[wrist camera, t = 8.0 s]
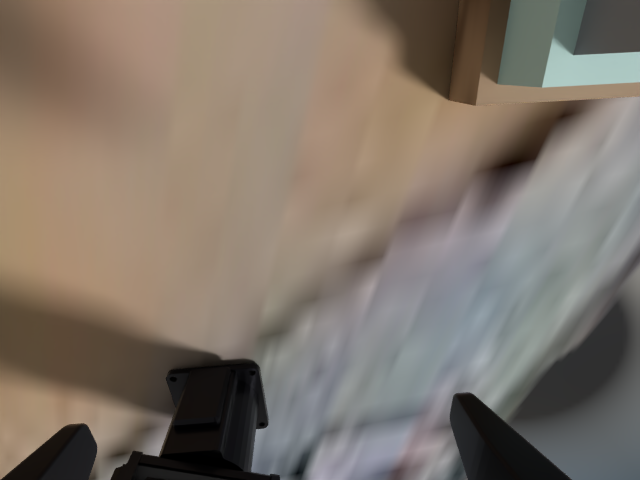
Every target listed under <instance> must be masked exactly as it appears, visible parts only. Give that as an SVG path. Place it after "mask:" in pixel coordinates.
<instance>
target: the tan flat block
mask: <svg viewBox="0 0 640 480" xmlns="http://www.w3.org/2000/svg"><path fill="white" fill-rule="evenodd" d="M510 3H511V0H460V2H459V11H458V20H457V29H456V38H455V47H454V56H453V65H452V75H451V84H450V93H449V100H450V101H455V102H460V103H465V104H470V105H475V106H479V105H496V104H514V103H531V102H549V101H566V100H584V99H602V98H619V97H637V96H640V82H634V83H616V84H598V85H580V86H561V87H543V88H541V87H527V86H513V85H500V84H497V82H498V76H499V70H500V64H501V58H502V52H503V46H504V40H505V34H506V27H507V21H508V15H509V9H510Z"/></svg>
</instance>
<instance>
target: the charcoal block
mask: <svg viewBox="0 0 640 480" xmlns="http://www.w3.org/2000/svg"><path fill="white" fill-rule="evenodd" d="M628 52H640V0H587V2H586V6H585V10H584V14H583V18H582V22H581V26H580V30H579V34H578V38H577V42H576V46H575V50H574V54H573V55H589V54H609V53H628Z"/></svg>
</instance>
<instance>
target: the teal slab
mask: <svg viewBox="0 0 640 480" xmlns="http://www.w3.org/2000/svg"><path fill="white" fill-rule="evenodd" d="M586 2H587V0H511V3H510V9H509V15H508V21H507V27H506V34H505V40H504V46H503V52H502V58H501V64H500V70H499V76H498V82H497V84H500V85H513V86H527V87H541V88H543V87H561V86H580V85H598V84H616V83H634V82H640V52H628V53H609V54H589V55H573V54H574V50H575V46H576V42H577V38H578V34H579V30H580V26H581V22H582V18H583V14H584V10H585V6H586Z"/></svg>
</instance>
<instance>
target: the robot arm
mask: <svg viewBox="0 0 640 480" xmlns="http://www.w3.org/2000/svg"><path fill="white" fill-rule="evenodd" d="M251 370H253V371H251ZM166 381H167V384H168V386H169V389H170V392H171V395H172V398H173V401H174V404H175V407H176V410H175V413H174V415H173V418H172V421H171V424H170V426H169V429H168V432H167V435H166V438H165V440H164V443H163V446H162V449H161V452H160V454H159V457H157V456H151V455H145V454H143V452H138V451H133V452H132V454H131V456H130V458H129V461H128V463H126V464H123V466H121V467H118V468H116V469H115V471H114V473H113V475H112V477H111V480H280V476H279V475H276V474H270V475H265V474H259V473H253V472H251V467H252V459H253V450H254V441H255V433H256V429H263V428H266V427H267V426H268V420H269V419H268V413H267V407H266V401H265V395H264V390H263V384H262V378H261V372H260V367H259V366H258V365H257V364H239V365H227V366H214V367H201V368H189V369H176V370H171V371H169V373H168V375H167V377H166ZM450 423H451V427H452V430H453V433H454V437H455V440H456V443H457V446H458V449H459V453H460V456H461V459H462V462H463V465H464V469H465V472H466V475H467V478H468V480H572V479H571V478H569V477H568V476H567V475H566V474H565V473H564V472H562V471H561V470H560V469H559V468H558V467H557V466H556V465H554V464H553V463H552V462H551V461H550V460H549V459H547V458H546V457H545V456H544V455H543V454H542V453H540V452H539V451H538V450H537V449H536V448H535V447H534V446H532V445H531V444H530V443H529V442H528V441H527V440H526V439H524V438H523V437H522V436H521V435H520V434H519V433H517V432H516V431H515V430H514V429H513V428H512V427H511V426H509V425H508V424H507V423H506V422H505V421H504V420H502V419H501V418H500V417H499V416H498V415H497V414H496V413H494V412H493V411H492V410H491V409H490V408H489V407H487V406H486V405H485V404H484V403H483V402H482V401H481V400H479V399H478V398H477V397H476V396H475V395H474V394H472V393H469V392H466V393H456V394H455V395H454V396H453V400H452V406H451V411H450ZM96 454H97V444H96V442H95V440H94V438H93V435H92V433H91V431H90V429H89V427H88V426H87V425H86V424H84V423H81V424H70V425H67V426H65V427H63V428H62V429H61V430H59V431H58V432H57V433H56V434H55V435H53V436H52V437H51V438H50V439H49V440H47V441H46V442H45V443H44V444H43V445H42V446H40V447H39V448H38V449H37V450H36V451H34V452H33V453H32V454H31V455H30V456H28V457H27V458H26V459H25V460H24V461H22V462H21V463H20V464H19V465H18V466H16V467H15V468H14V469H13V470H12V471H10V472H9V473H8V474H7V475H6V476H5V477H3V478H2V479H1V480H88V479H89V476H90V473H91V470H92V467H93V464H94V461H95V458H96Z"/></svg>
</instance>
